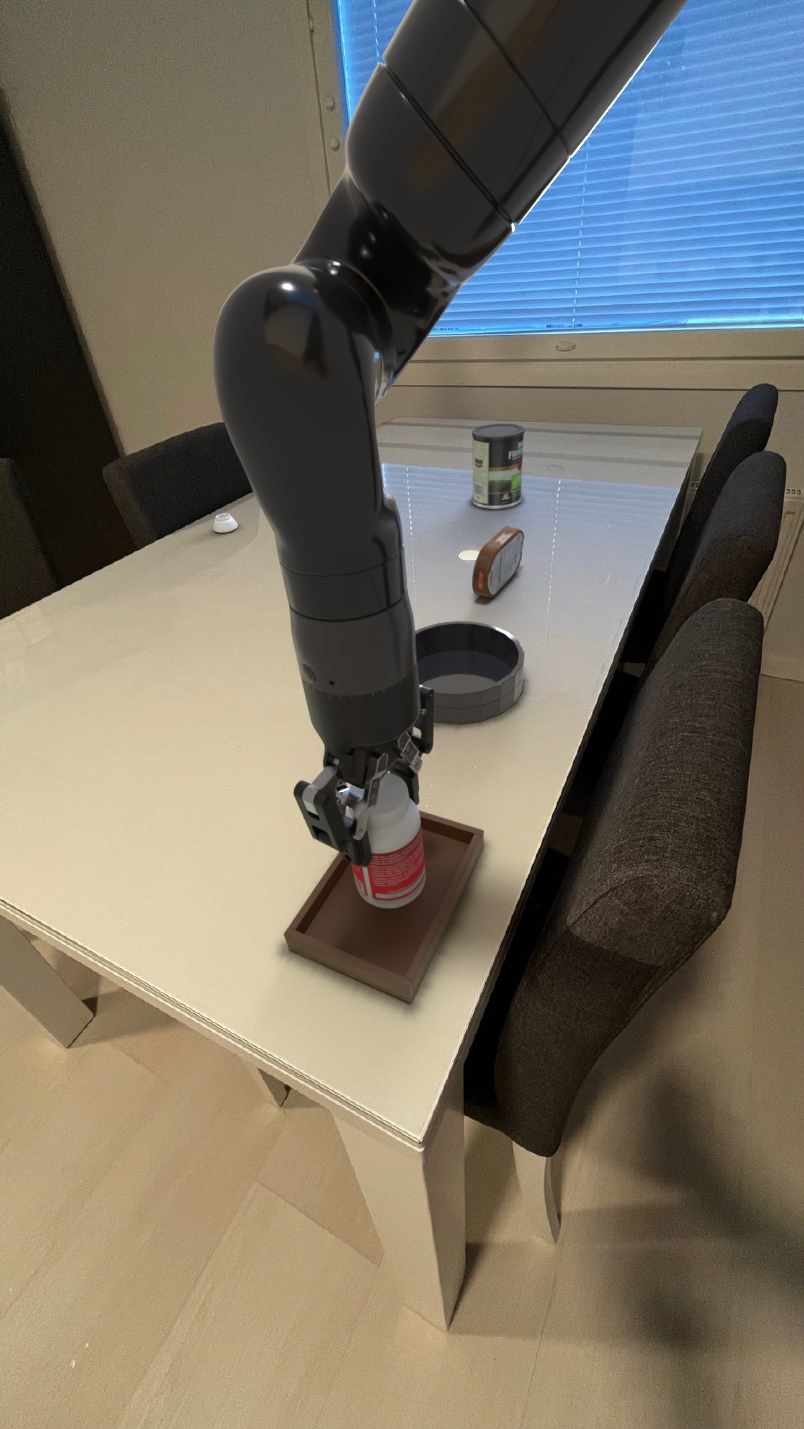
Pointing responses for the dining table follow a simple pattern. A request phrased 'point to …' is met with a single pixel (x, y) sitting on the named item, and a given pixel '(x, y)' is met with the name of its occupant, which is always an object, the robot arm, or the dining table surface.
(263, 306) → the robot arm
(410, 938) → the tray
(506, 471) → the coffee can
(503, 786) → the dining table surface
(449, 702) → the bowl
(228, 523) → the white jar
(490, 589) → the tin
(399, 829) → the pill bottle
